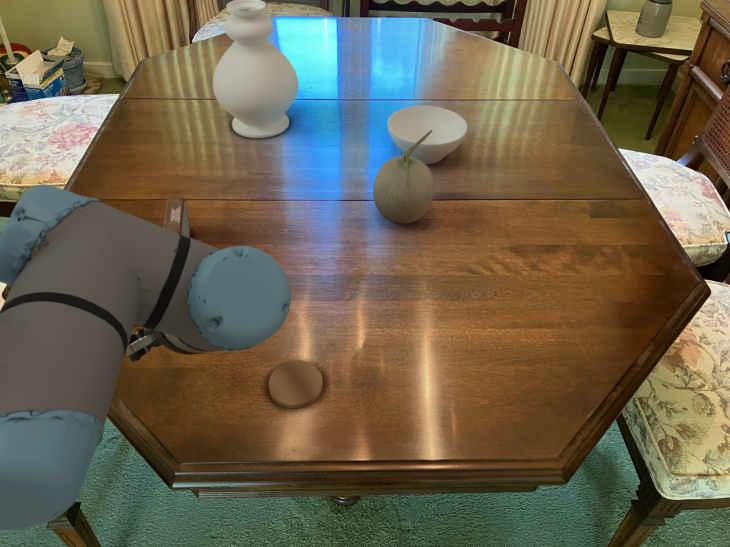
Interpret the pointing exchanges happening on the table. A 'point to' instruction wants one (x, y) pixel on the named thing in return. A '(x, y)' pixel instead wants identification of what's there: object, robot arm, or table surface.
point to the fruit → (403, 188)
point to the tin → (177, 216)
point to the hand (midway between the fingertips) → (156, 330)
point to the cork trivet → (295, 384)
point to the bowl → (418, 122)
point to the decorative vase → (254, 74)
